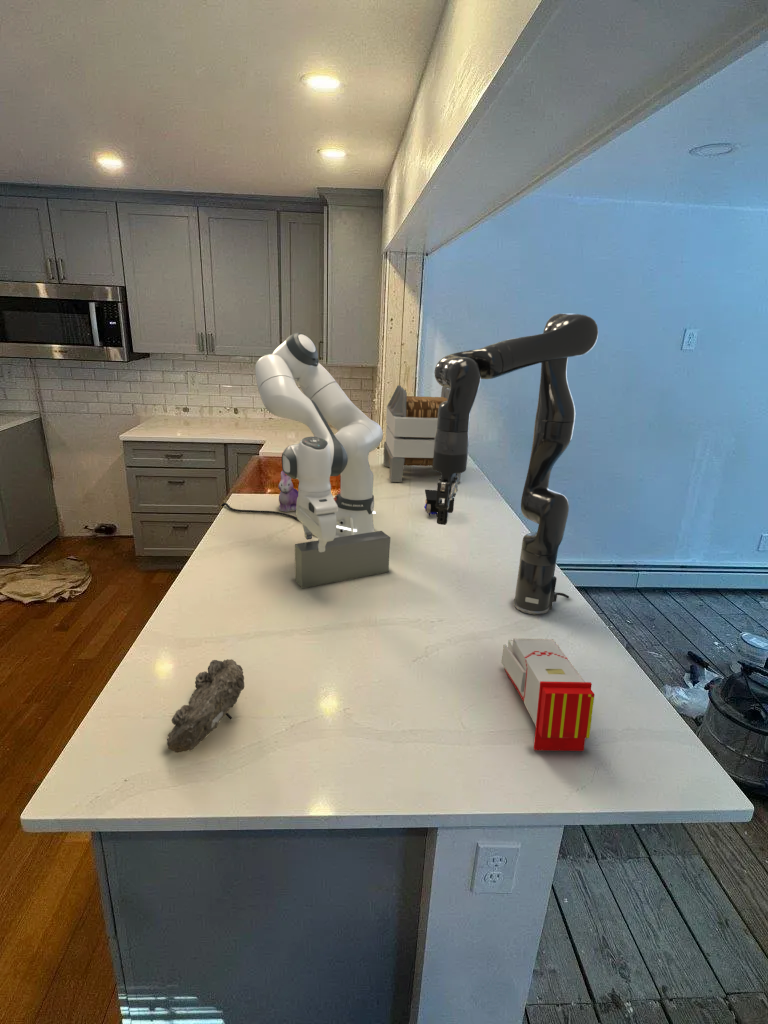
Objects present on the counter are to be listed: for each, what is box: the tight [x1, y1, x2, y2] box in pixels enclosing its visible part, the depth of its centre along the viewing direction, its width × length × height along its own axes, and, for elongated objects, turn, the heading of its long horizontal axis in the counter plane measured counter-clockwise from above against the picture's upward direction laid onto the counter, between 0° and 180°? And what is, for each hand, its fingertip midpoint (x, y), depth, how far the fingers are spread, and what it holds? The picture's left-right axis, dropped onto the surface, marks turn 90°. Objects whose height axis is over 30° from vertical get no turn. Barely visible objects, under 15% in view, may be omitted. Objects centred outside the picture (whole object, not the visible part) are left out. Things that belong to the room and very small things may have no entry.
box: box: [294, 530, 391, 589], centre depth 165 cm, size 28×6×11 cm, turn 118°
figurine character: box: [424, 489, 443, 518], centre depth 221 cm, size 7×8×15 cm
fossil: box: [166, 658, 245, 754], centre depth 106 cm, size 22×10×15 cm
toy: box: [500, 637, 595, 752], centre depth 114 cm, size 12×13×30 cm
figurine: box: [278, 470, 298, 513], centre depth 217 cm, size 9×10×15 cm
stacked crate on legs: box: [383, 384, 462, 484], centre depth 268 cm, size 34×33×41 cm
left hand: (314, 544), depth 158 cm, fingers open, 8 cm apart
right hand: (445, 517), depth 131 cm, fingers open, 8 cm apart
